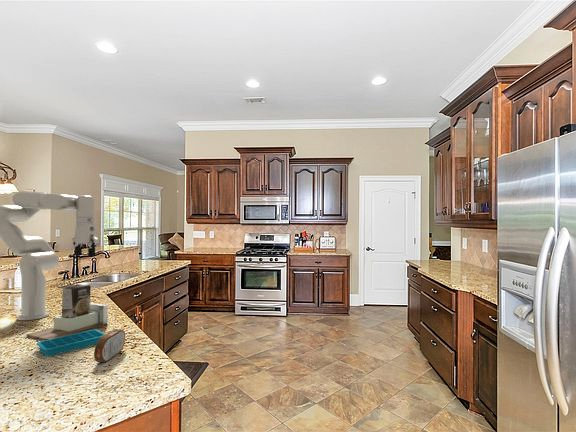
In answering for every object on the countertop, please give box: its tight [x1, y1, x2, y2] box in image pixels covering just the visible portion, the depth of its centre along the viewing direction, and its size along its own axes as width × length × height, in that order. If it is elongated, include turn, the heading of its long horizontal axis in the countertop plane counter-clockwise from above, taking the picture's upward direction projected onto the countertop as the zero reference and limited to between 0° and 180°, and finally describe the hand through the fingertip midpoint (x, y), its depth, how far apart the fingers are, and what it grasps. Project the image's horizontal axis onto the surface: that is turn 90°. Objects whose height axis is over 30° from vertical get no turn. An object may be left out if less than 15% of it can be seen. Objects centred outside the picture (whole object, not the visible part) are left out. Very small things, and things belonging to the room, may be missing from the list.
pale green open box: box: [53, 311, 98, 332], centre depth 145 cm, size 10×13×5 cm
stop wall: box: [90, 302, 109, 324], centre depth 152 cm, size 16×2×8 cm, turn 66°
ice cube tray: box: [36, 328, 106, 357], centre depth 124 cm, size 12×20×3 cm, turn 140°
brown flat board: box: [26, 322, 108, 341], centre depth 142 cm, size 16×24×1 cm, turn 156°
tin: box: [93, 328, 126, 363], centre depth 113 cm, size 15×3×8 cm, turn 178°
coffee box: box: [61, 284, 92, 319], centre depth 145 cm, size 9×6×16 cm
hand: (84, 255), depth 161 cm, fingers open, 9 cm apart
